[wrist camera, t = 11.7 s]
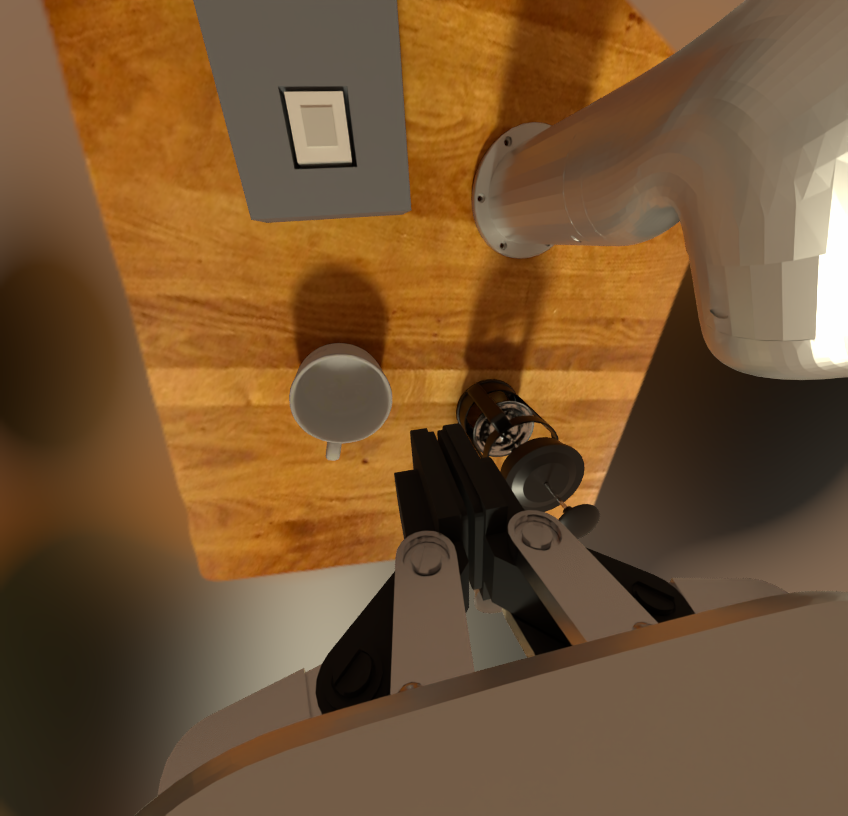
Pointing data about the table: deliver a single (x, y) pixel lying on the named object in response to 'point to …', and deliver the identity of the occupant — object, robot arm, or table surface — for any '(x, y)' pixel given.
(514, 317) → the table surface
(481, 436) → the french press
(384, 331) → the table surface
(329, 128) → the key ivory
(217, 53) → the key console
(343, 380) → the teacup
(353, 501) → the table surface
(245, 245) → the table surface
